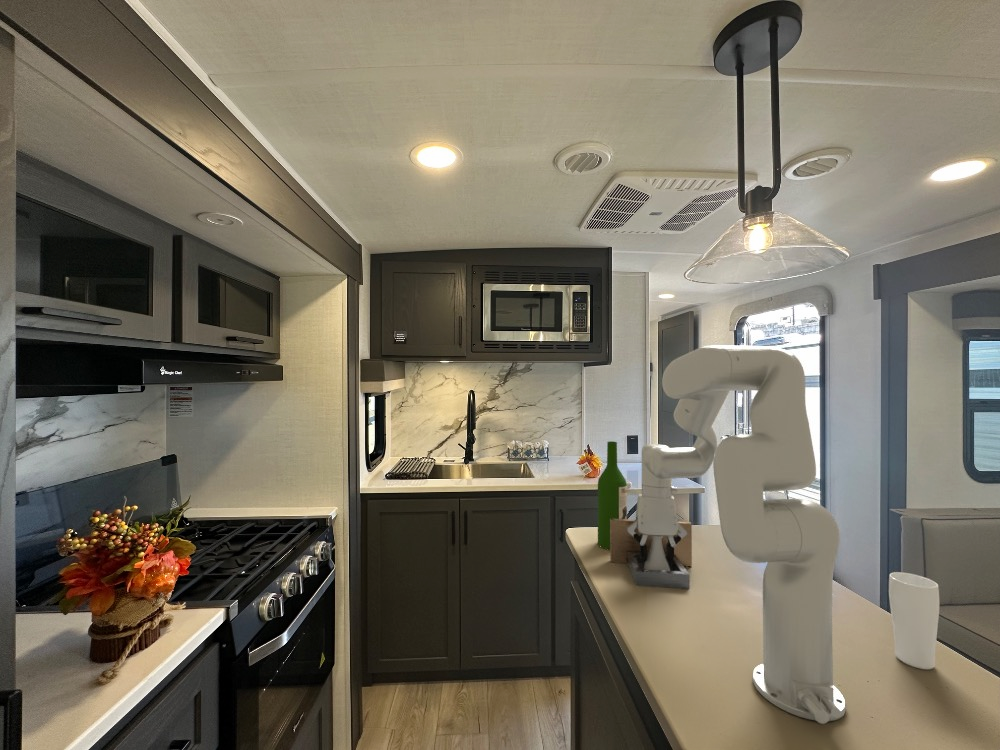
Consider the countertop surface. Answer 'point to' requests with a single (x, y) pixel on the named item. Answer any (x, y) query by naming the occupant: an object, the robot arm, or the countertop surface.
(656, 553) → the flask
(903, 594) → the drinking glass
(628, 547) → the cup bracket
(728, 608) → the countertop surface
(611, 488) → the wine bottle
